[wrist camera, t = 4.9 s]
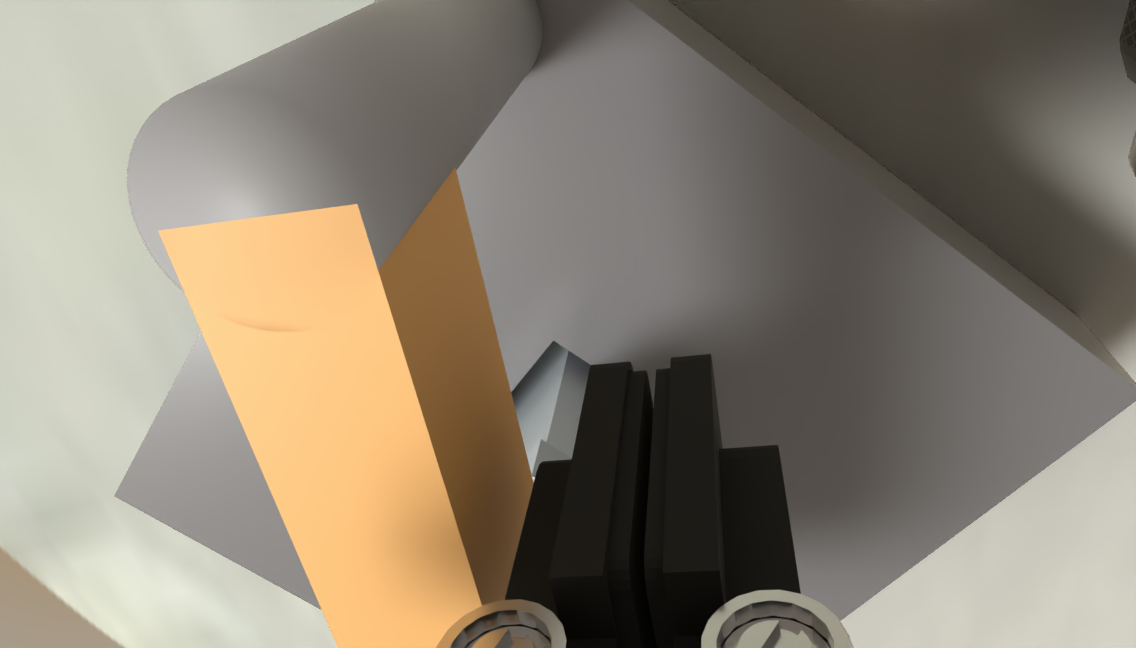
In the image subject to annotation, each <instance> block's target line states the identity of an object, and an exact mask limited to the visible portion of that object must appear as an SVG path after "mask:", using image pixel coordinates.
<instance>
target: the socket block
mask: <svg viewBox="0 0 1136 648" xmlns="http://www.w3.org/2000/svg"><path fill="white" fill-rule="evenodd" d="M377 1H379V0H375V2H377ZM375 2H374V3H375ZM536 2H537V5H538V7H539V10H540V14H541V18H542V26H543V37H542V44H541V48H540V52H539V55H538V57H537V60H536V61H535V63H534V65H533V67H532V68H531V69H530V71H529V72H528V74H527V75H526V76H525V78H524V79H523V80H522V82H521V83H520V85H519V86H518V87H517V89H516V90H515V91H514V93H513V94H512V95H511V97H510V98H509V100H508V101H507V102H506V104H505V105H504V106H503V108H502V109H501V111H500V112H499V113H498V115H497V116H496V117H495V119H494V120H493V121H492V123H491V124H490V126H489V127H488V128H487V130H486V131H485V132H484V134H483V135H482V136H481V138H480V139H479V141H478V142H477V143H476V145H475V146H474V147H473V149H472V150H471V152H470V153H469V154H468V156H467V157H466V158H465V160H464V161H463V162H462V164H461V165H460V167H459V168H458V169H457V171H456V172H457V176H458V180H459V184H460V188H461V192H462V196H463V200H464V204H465V208H466V212H467V216H468V220H469V224H470V228H471V232H472V236H473V240H474V244H475V249H476V253H477V257H478V261H479V265H480V269H481V273H482V277H483V281H484V285H485V289H486V293H487V297H488V301H489V305H490V309H491V313H492V317H493V321H494V325H495V329H496V333H497V337H498V341H499V345H500V349H501V353H502V357H503V361H504V365H505V370H506V374H507V378H508V382H509V386H510V390H511V392H512V391H513V390H514V388H515V387H516V386H517V385H518V383H519V382H520V381H521V380H522V379H523V377H524V376H525V375H526V374H527V372H528V371H529V370H530V369H531V367H532V366H533V365H534V364H535V363H536V361H537V360H538V359H539V358H540V356H541V355H542V354H543V353H544V351H545V350H546V349H547V348H548V347H549V345H550V344H551V343H552V342H553V341H555V342H556V343H558V344H559V345H561V346H562V347H564V348H566V349H567V350H569V351H570V352H572V353H573V354H575V355H576V356H578V357H579V358H581V359H582V360H584V361H585V362H587V363H588V364H590V365H596V364H607V363H618V362H628V361H630V362H631V364H632V367H633V371H644V370H646V371H647V373H648V378H649V383H650V389H651V395H652V402H653V406H654V394H655V379H656V370H657V369H665V368H670V361H671V357H682V356H692V355H703V354H711V357H712V364H713V372H714V380H715V389H716V397H717V405H718V413H719V422H720V430H721V438H722V446H723V449H724V448H739V447H753V446H767V445H778V447H779V453H780V459H781V466H782V472H783V479H784V486H785V492H786V499H787V505H788V512H789V518H790V525H791V532H792V538H793V545H794V551H795V558H796V565H797V571H798V578H799V584H800V591H801V594H803V595H805V596H807V597H809V598H811V599H813V600H815V601H818V602H820V603H822V604H823V605H824V606H825V607H826V608H828V609H829V610H830V611H831V612H832V613H833V614H835V615H836V616H837V617H838V619H839V620H840V621H841V620H842V619H843V618H845V617H846V616H847V615H849V614H850V613H852V612H853V611H854V610H856V609H857V608H858V607H860V606H861V605H862V604H864V603H865V602H866V601H868V600H869V599H870V598H872V597H873V596H874V595H876V594H877V593H878V592H880V591H881V590H882V589H884V588H885V587H886V586H888V585H889V584H891V583H892V582H893V581H895V580H896V579H897V578H899V577H900V576H901V575H903V574H904V573H905V572H907V571H908V570H909V569H911V568H912V567H913V566H915V565H916V564H917V563H919V562H920V561H921V560H923V559H924V558H925V557H927V556H928V555H929V554H931V553H932V552H934V551H935V550H936V549H938V548H939V547H940V546H942V545H943V544H944V543H946V542H947V541H948V540H950V539H951V538H952V537H954V536H955V535H956V534H958V533H959V532H960V531H962V530H963V529H964V528H966V527H967V526H968V525H970V524H971V523H973V522H974V521H975V520H977V519H978V518H979V517H981V516H982V515H983V514H985V513H986V512H987V511H989V510H990V509H991V508H993V507H994V506H995V505H997V504H998V503H999V502H1001V501H1002V500H1003V499H1005V498H1006V497H1007V496H1009V495H1010V494H1012V493H1013V492H1014V491H1016V490H1017V489H1018V488H1020V487H1021V486H1022V485H1024V484H1025V483H1026V482H1028V481H1029V480H1030V479H1032V478H1033V477H1034V476H1036V475H1037V474H1038V473H1040V472H1041V471H1042V470H1044V469H1045V468H1046V467H1048V466H1049V465H1050V464H1052V463H1053V462H1055V461H1056V460H1057V459H1059V458H1060V457H1061V456H1063V455H1064V454H1065V453H1067V452H1068V451H1069V450H1071V449H1072V448H1073V447H1075V446H1076V445H1077V444H1079V443H1080V442H1081V441H1083V440H1084V439H1085V438H1087V437H1088V436H1089V435H1091V434H1092V433H1094V432H1095V431H1096V430H1098V429H1099V428H1100V427H1102V426H1103V425H1104V424H1106V423H1107V422H1108V421H1110V420H1111V419H1112V418H1114V417H1115V416H1116V415H1118V414H1119V413H1120V412H1122V411H1123V410H1124V409H1126V408H1127V407H1128V406H1130V405H1131V404H1133V403H1134V402H1135V401H1136V383H1135V382H1134V380H1133V379H1132V378H1131V377H1130V376H1129V375H1128V373H1127V372H1126V371H1125V370H1124V369H1123V368H1122V366H1121V365H1120V364H1119V363H1118V362H1117V361H1116V359H1115V358H1114V357H1113V356H1112V355H1111V354H1110V352H1109V351H1108V350H1107V349H1106V348H1105V347H1104V345H1103V344H1102V343H1101V342H1100V341H1099V340H1098V338H1097V337H1096V336H1095V335H1094V334H1093V333H1092V331H1091V330H1090V329H1089V328H1088V327H1087V326H1086V324H1085V323H1084V322H1083V321H1082V320H1081V318H1079V317H1078V316H1077V315H1076V314H1074V313H1073V312H1072V311H1070V310H1069V309H1068V308H1066V307H1065V306H1064V305H1063V304H1061V303H1060V302H1059V301H1057V300H1056V299H1055V298H1053V297H1052V296H1051V295H1050V294H1048V293H1047V292H1046V291H1044V290H1043V289H1042V288H1040V287H1039V286H1038V285H1037V284H1035V283H1034V282H1033V281H1031V280H1030V279H1029V278H1027V277H1026V276H1025V275H1024V274H1022V273H1021V272H1020V271H1018V270H1017V269H1016V268H1014V267H1013V266H1012V265H1011V264H1009V263H1008V262H1007V261H1005V260H1004V259H1003V258H1002V257H1000V256H999V255H998V254H996V253H995V252H994V251H992V250H991V249H990V248H989V247H987V246H986V245H985V244H983V243H982V242H981V241H979V240H978V239H977V238H976V237H974V236H973V235H972V234H970V233H969V232H968V231H966V230H965V229H964V228H963V227H961V226H960V225H959V224H957V223H956V222H955V221H953V220H952V219H951V218H950V217H948V216H947V215H946V214H944V213H943V212H942V211H940V210H939V209H938V208H937V207H935V206H934V205H933V204H931V203H930V202H929V201H927V200H926V199H925V198H924V197H922V196H921V195H920V194H918V193H917V192H916V191H914V190H913V189H912V188H911V187H909V186H908V185H907V184H905V183H904V182H903V181H902V180H900V179H899V178H898V177H896V176H895V175H894V174H892V173H891V172H890V171H889V170H887V169H886V168H885V167H883V166H882V165H881V164H879V163H878V162H877V161H876V160H874V159H873V158H872V157H870V156H869V155H868V154H866V153H865V152H864V151H863V150H861V149H860V148H859V147H857V146H856V145H855V144H853V143H852V142H851V141H850V140H848V139H847V138H846V137H844V136H843V135H842V134H840V133H839V132H838V131H837V130H835V129H834V128H833V127H831V126H830V125H829V124H827V123H826V122H825V121H824V120H822V119H821V118H820V117H818V116H817V115H816V114H814V113H813V112H812V111H811V110H809V109H808V108H807V107H805V106H804V105H803V104H802V103H800V102H799V101H798V100H796V99H795V98H794V97H792V96H791V95H790V94H789V93H787V92H786V91H785V90H783V89H782V88H781V87H779V86H778V85H777V84H776V83H774V82H773V81H772V80H770V79H769V78H768V77H766V76H765V75H764V74H763V73H761V72H760V71H759V70H757V69H756V68H755V67H753V66H752V65H751V64H750V63H748V62H747V61H746V60H744V59H743V58H742V57H740V56H739V55H738V54H737V53H735V52H734V51H733V50H731V49H730V48H729V47H727V46H726V45H725V44H724V43H722V42H721V41H720V40H718V39H717V38H716V37H714V36H713V35H712V34H711V33H709V32H708V31H707V30H705V29H704V28H703V27H701V26H700V25H699V24H698V23H696V22H695V21H694V20H692V19H691V18H690V17H689V16H687V15H686V14H685V13H683V12H682V11H681V10H679V9H678V8H677V7H676V6H674V5H673V4H672V3H670V2H669V1H668V0H536ZM115 497H117V498H119V499H120V500H122V501H124V502H126V503H128V504H130V505H131V506H133V507H135V508H137V509H139V510H140V511H142V512H144V513H146V514H148V515H150V516H151V517H153V518H155V519H157V520H159V521H160V522H162V523H164V524H166V525H168V526H170V527H171V528H173V529H175V530H177V531H179V532H181V533H182V534H184V535H186V536H188V537H190V538H191V539H193V540H195V541H197V542H199V543H201V544H202V545H204V546H206V547H208V548H210V549H212V550H213V551H215V552H217V553H219V554H221V555H222V556H224V557H226V558H228V559H230V560H232V561H233V562H235V563H237V564H239V565H241V566H242V567H244V568H246V569H248V570H250V571H252V572H253V573H255V574H257V575H259V576H261V577H263V578H264V579H266V580H268V581H270V582H272V583H273V584H275V585H277V586H279V587H281V588H283V589H284V590H286V591H288V592H290V593H292V594H293V595H295V596H297V597H299V598H301V599H303V600H304V601H306V602H308V603H310V604H312V605H314V606H315V607H317V608H319V609H321V607H320V605H319V602H318V600H317V598H316V595H315V593H314V591H313V588H312V586H311V584H310V581H309V579H308V577H307V575H306V572H305V570H304V568H303V565H302V563H301V561H300V558H299V556H298V554H297V551H296V549H295V547H294V544H293V542H292V540H291V537H290V535H289V533H288V531H287V528H286V526H285V524H284V521H283V519H282V517H281V514H280V512H279V510H278V507H277V505H276V503H275V500H274V498H273V496H272V494H271V491H270V489H269V487H268V484H267V482H266V480H265V477H264V475H263V473H262V470H261V468H260V466H259V463H258V461H257V459H256V457H255V454H254V452H253V450H252V447H251V445H250V443H249V440H248V438H247V436H246V433H245V431H244V429H243V426H242V424H241V422H240V420H239V417H238V415H237V413H236V410H235V408H234V406H233V403H232V401H231V399H230V396H229V394H228V392H227V389H226V387H225V385H224V382H223V380H222V378H221V376H220V373H219V371H218V369H217V366H216V364H215V362H214V359H213V357H212V355H211V352H210V350H209V348H208V345H207V343H206V341H205V339H204V336H203V334H202V332H200V334H199V336H198V338H197V340H196V342H195V344H194V345H193V347H192V349H191V351H190V353H189V355H188V357H187V359H186V361H185V363H184V364H183V366H182V368H181V370H180V372H179V374H178V376H177V378H176V380H175V382H174V383H173V385H172V387H171V389H170V391H169V393H168V395H167V397H166V399H165V401H164V402H163V404H162V406H161V408H160V410H159V412H158V414H157V416H156V418H155V420H154V421H153V423H152V425H151V427H150V429H149V431H148V433H147V435H146V437H145V439H144V440H143V442H142V444H141V446H140V448H139V450H138V452H137V454H136V456H135V458H134V459H133V461H132V463H131V465H130V467H129V469H128V471H127V473H126V475H125V477H124V478H123V480H122V482H121V484H120V486H119V488H118V490H117V492H116V494H115ZM321 610H322V609H321Z"/></svg>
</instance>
